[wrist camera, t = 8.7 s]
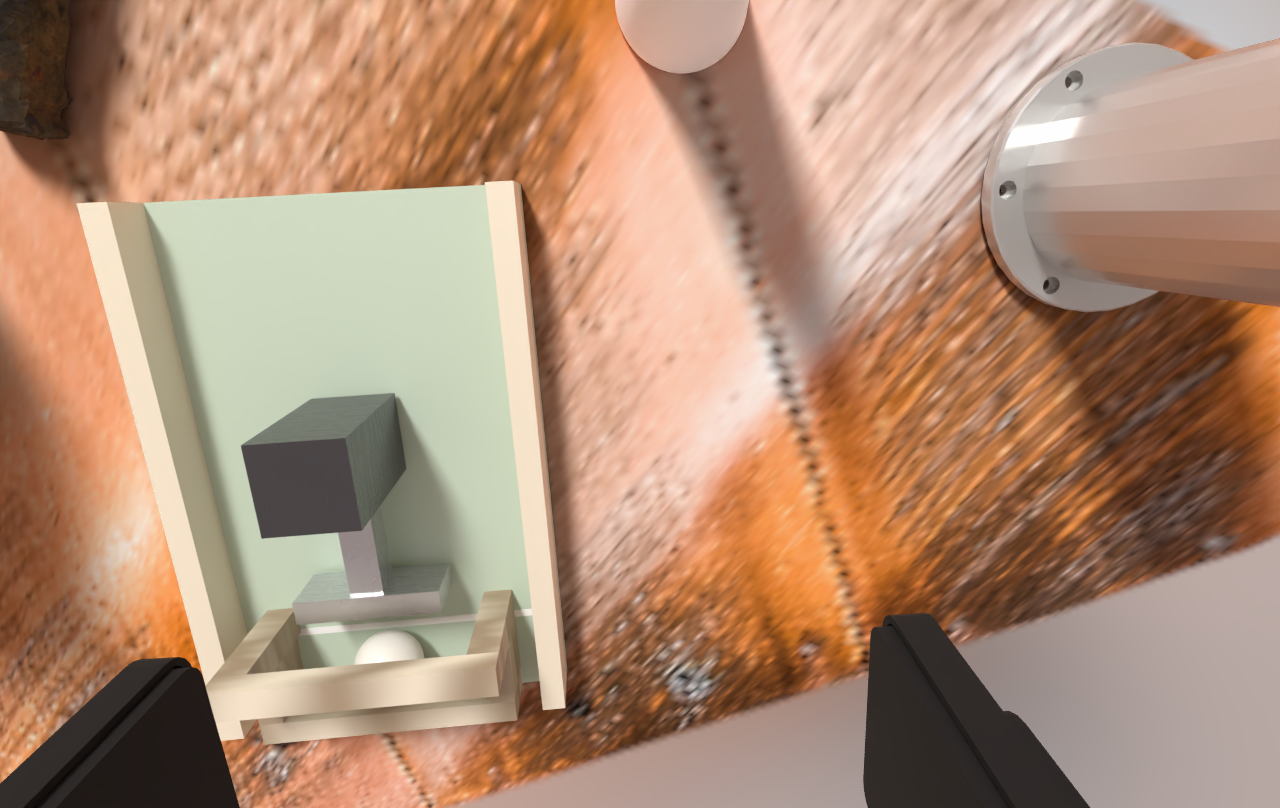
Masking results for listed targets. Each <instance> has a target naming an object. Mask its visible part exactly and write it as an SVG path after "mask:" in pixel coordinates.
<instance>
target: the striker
mask: <svg viewBox="0 0 1280 808" xmlns="http://www.w3.org/2000/svg"><path fill="white" fill-rule="evenodd" d="M241 450H242V454H243V459H244V463H245V467H246V472H247V476H248V481H249V485H250V490H251V494H252V498H253V503H254V507H255V512H256V516H257V521H258V525H259V529H260V534H261V538H262V539H264V538H277V537H289V536H302V535H315V534H327V533H338V535H339V541H340V546H341V551H342V556H343V561H344V567H345V572H334V573H322V574H314V575H313V577H312V578H311V579H310V581H309V582H308V583H307V584H306V586H305V587H304V588H303V590H302V591H301V592H300V594H299V595H298V596H297V598H296V599H295V600H294V601H293V603H292V606H293V611H294V615H295V620H296V624H297V625H304V624H316V623H328V622H339V621H351V620H362V619H374V618H385V617H397V616H409V615H420V614H432V613H442V610H443V608H444V605H445V602H446V600H447V597H448V594H449V591H450V589H451V586H452V583H453V582H452V576H451V569H450V563H443V564H431V565H419V566H407V567H394V568H391V565H390V559H389V553H388V547H387V541H386V535H385V530H384V524H383V518H382V512H381V506H380V505H381V504H382V502H383V501H384V500H385V498H386V497H387V495H388V494H389V493H390V491H391V490H392V488H393V487H394V486H395V484H396V483H397V481H398V480H399V479H400V477H401V476H402V475H403V473H404V472H405V470H406V463H405V457H404V450H403V444H402V437H401V431H400V425H399V418H398V412H397V406H396V399H395V393H387V394H373V395H358V396H343V397H329V398H314V399H310V400H309V401H307V402H306V403H304V404H303V405H301V406H300V407H298V408H297V409H295V410H293V411H292V412H290V413H289V414H287V415H286V416H284V417H283V418H281V419H280V420H278V421H277V422H275V423H274V424H272V425H271V426H269V427H268V428H266V429H265V430H263V431H262V432H260V433H259V434H257V435H256V436H254V437H253V438H251V439H250V440H248V441H247V442H245V443H244V444H242V445H241Z"/></svg>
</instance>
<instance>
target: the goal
mask: <svg viewBox="0 0 1280 808" xmlns="http://www.w3.org/2000/svg"><path fill="white" fill-rule="evenodd" d="M300 633H301V629H300V625H297V624H296V620H295V615H294V611H293V608H287V609H275V610H267V611H266V612H265V614H264V615H263V616H262V617H261V619H260V620H259V621H258V622H257V623H256V625H255V626H254V627H253V628H252V630H251V631H250V632H249V633H248V635H247V636H246V637H245V638H244V639H243V641H242V642H241V643H240V644H239V646H238V647H237V648H236V649H235V650H234V652H233V653H232V654H231V655H230V657H229V658H228V659H227V660H226V662H225V663H224V664H223V665H222V666H221V668H220V669H219V670H218V671H217V673H216V674H215V675H214V676H213V677H212V679H211V680H210V681H209V682H208V684H207V685H206V686H205V687H206V690H207V694H208V697H209V701H210V704H211V708H212V712H213V715H214V719H215V722H216V723H219V722H230V721H241V720H252V719H258V721H259V725H260V729H261V733H262V737H263V741H264V745H266V744H276V743H287V742H297V741H308V740H318V739H329V738H339V737H350V736H360V735H371V734H381V733H391V732H402V731H412V730H423V729H433V728H444V727H454V726H465V725H475V724H486V723H496V722H506V721H517V720H518V712H519V705H520V698H521V691H522V684H523V681H522V672H521V664H520V655H519V647H518V638H517V630H516V621H515V613H514V604H513V596H512V589H511V590H499V591H487V592H484V594H483V597H482V601H481V604H480V608H479V612H478V615H477V619H476V622H475V626H474V629H473V633H472V637H471V640H470V644H469V647H468V651H467V655H458V656H447V657H435V658H424V659H413V660H402V661H391V662H380V663H369V664H358V665H347V666H335V667H324V668H313V669H304V668H303V664H302V659H301V655H300V650H299V646H298V641H297V638H298V636H299V635H300Z"/></svg>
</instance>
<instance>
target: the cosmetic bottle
mask: <svg viewBox="0 0 1280 808" xmlns="http://www.w3.org/2000/svg"><path fill="white" fill-rule="evenodd" d="M749 1H750V0H615V7H616V14H617V19H618V22H619V25H620V28H621V30H622V33H623V35H624V37H625V39H626V40H627V42H628V44H629V45H630V46H631V48H632V49H633V50H634V51H635V52H636V54H637V55H638V56H639V57H641V58H642V59H643V60H644V61H646V62H647V63H649V64H650V65H652V66H654V67H656V68H658V69H660V70H663V71H666V72H671V73H680V74H684V73H692V72H697V71H700V70H703V69H706V68H708V67H710V66H712V65H713V64H715V63H716V62H718V61H719V60H720V59H721V58H723V57H724V56H725V55H726V54H727V53H728V52H729V50H730V49H731V48H732V47H733V45H734V44H735V43H736V41H737V39H738V37H739V35H740V33H741V31H742V29H743V26H744V23H745V19H746V15H747V9H748V4H749Z"/></svg>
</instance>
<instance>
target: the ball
mask: <svg viewBox="0 0 1280 808" xmlns="http://www.w3.org/2000/svg"><path fill="white" fill-rule="evenodd" d="M413 659H424V653H423V650H422V647H421V645H420V643H419V642H418V641H417V639H416V638H415V637H414V636H412V635H411V634H409V633H408V632H405V631H402V630H397V629H389V630H384V631H381V632H378V633H376V634H374V635H372V636H371V637H370V638H368V639H367V640H366V641H365V642H364V643H363V645H362V646H361V647H360V649H359V651H358V652H357V654H356V657H355V660H354V665H358V664H369V663H380V662H391V661H402V660H413Z"/></svg>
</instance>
